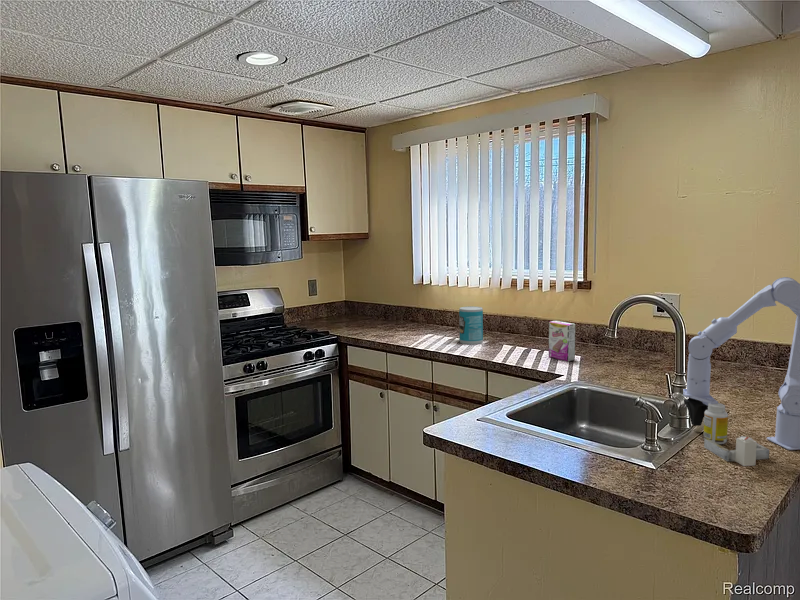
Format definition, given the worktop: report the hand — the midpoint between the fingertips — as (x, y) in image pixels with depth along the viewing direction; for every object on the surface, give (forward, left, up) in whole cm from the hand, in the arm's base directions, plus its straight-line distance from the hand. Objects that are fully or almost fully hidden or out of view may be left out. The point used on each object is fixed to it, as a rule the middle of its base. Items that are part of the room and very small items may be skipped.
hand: (696, 424), depth 156 cm
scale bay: (0, +16, -2) cm, 16 cm away
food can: (+35, -132, -2) cm, 137 cm away
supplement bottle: (0, +8, -2) cm, 8 cm away
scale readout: (+2, +22, -2) cm, 22 cm away
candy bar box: (+4, -89, -2) cm, 89 cm away
